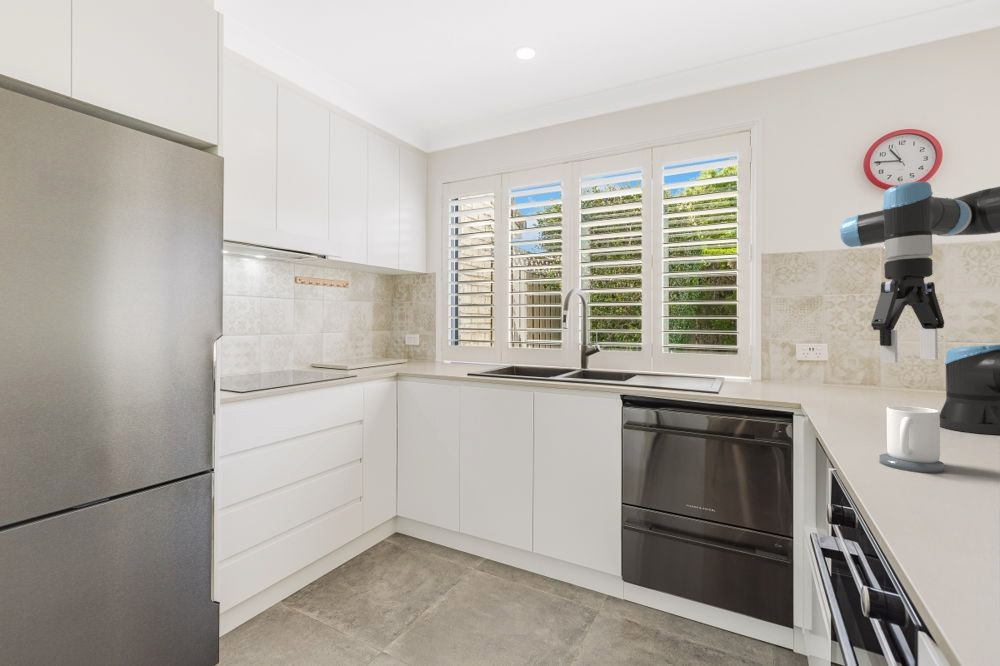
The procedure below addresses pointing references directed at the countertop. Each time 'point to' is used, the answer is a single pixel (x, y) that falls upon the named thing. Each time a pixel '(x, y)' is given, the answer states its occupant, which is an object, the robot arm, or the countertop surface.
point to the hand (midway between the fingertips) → (909, 360)
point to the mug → (913, 434)
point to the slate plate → (911, 465)
